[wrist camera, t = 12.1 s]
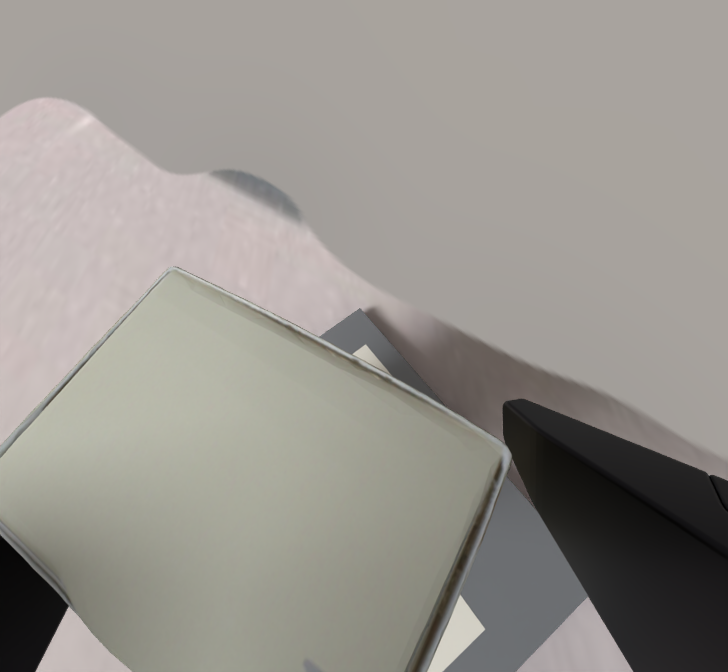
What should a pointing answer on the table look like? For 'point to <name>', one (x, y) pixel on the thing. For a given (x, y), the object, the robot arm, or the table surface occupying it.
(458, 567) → the skincare box
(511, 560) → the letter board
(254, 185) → the table surface
